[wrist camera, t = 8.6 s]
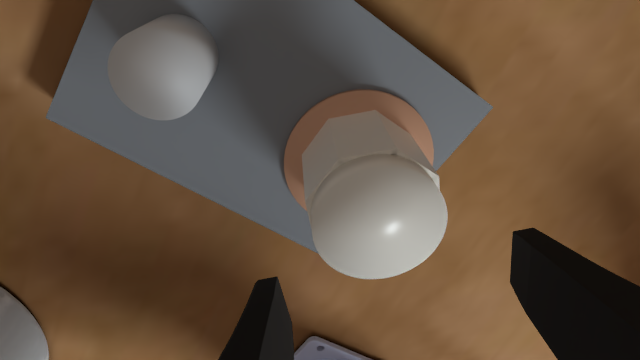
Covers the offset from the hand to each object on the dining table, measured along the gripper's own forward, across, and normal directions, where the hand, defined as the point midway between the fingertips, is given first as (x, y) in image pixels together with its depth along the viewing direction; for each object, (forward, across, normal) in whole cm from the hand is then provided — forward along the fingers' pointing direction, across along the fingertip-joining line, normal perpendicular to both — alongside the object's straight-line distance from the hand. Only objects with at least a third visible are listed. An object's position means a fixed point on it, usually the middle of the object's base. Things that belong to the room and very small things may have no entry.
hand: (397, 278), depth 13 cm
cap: (+8, 0, 0) cm, 8 cm away
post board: (+9, +3, -3) cm, 10 cm away
